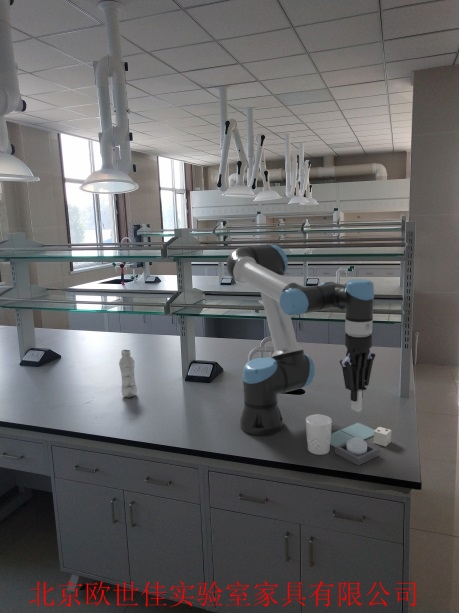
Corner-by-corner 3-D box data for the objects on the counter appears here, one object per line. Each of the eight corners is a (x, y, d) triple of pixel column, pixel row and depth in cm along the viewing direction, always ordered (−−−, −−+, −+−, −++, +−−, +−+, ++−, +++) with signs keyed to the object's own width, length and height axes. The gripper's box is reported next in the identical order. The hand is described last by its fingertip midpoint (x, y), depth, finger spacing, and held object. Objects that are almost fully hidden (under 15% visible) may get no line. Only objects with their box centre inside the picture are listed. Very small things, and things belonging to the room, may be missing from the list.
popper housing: (335, 452, 136) (335, 446, 136) (355, 443, 141) (355, 438, 141) (358, 465, 129) (358, 459, 128) (378, 455, 134) (378, 449, 133)
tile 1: (319, 439, 145) (319, 438, 145) (339, 431, 150) (339, 430, 150) (340, 450, 138) (340, 449, 137) (360, 441, 142) (360, 440, 142)
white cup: (328, 442, 142) (328, 413, 141) (334, 455, 135) (334, 424, 133) (303, 444, 142) (303, 414, 140) (308, 456, 135) (308, 426, 133)
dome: (342, 451, 136) (342, 437, 135) (355, 445, 139) (355, 431, 138) (357, 459, 131) (358, 445, 130) (371, 453, 134) (371, 438, 133)
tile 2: (340, 430, 150) (340, 429, 150) (358, 423, 155) (358, 422, 155) (361, 441, 143) (361, 440, 143) (379, 432, 147) (379, 432, 147)
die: (373, 442, 141) (373, 430, 140) (378, 438, 144) (379, 426, 143) (385, 446, 139) (386, 434, 138) (390, 441, 141) (391, 429, 141)
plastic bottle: (122, 400, 184) (117, 353, 180) (121, 394, 190) (117, 349, 186) (138, 398, 185) (134, 352, 181) (136, 392, 192) (133, 347, 188)
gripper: (353, 340, 121) (351, 420, 126) (384, 332, 128) (381, 408, 133) (332, 334, 127) (331, 411, 132) (363, 327, 134) (361, 400, 139)
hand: (356, 409), depth 132 cm, fingers closed
